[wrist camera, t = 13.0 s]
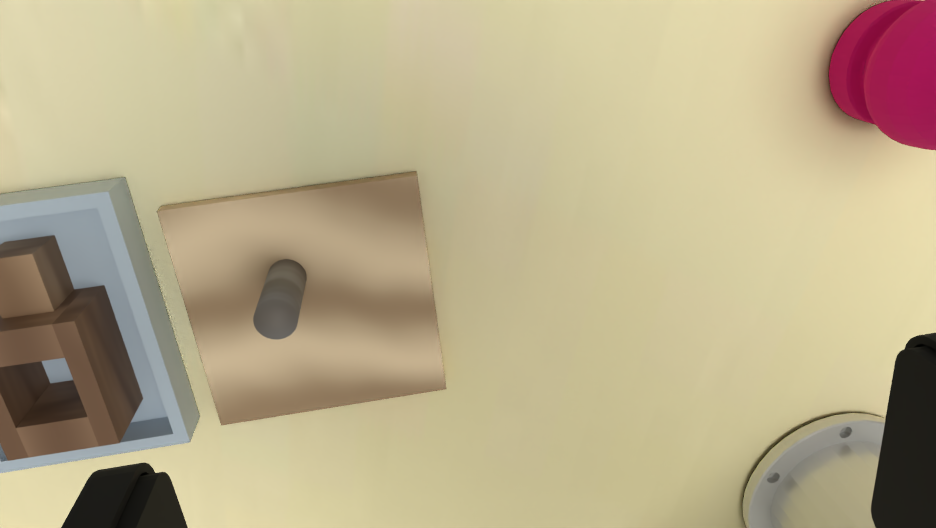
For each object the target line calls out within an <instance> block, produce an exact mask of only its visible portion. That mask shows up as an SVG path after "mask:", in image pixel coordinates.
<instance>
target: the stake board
mask: <svg viewBox="0 0 936 528" xmlns="http://www.w3.org/2000/svg"><path fill="white" fill-rule="evenodd" d="M157 213H158V216H159V220H160V223H161V226H162V230H163V233H164V236H165V240H166V243H167V246H168V250H169V253H170V256H171V260H172V263H173V266H174V270H175V273H176V276H177V280H178V283H179V286H180V290H181V293H182V296H183V300H184V303H185V306H186V310H187V313H188V316H189V320H190V323H191V326H192V330H193V333H194V336H195V340H196V343H197V346H198V349H199V353H200V356H201V359H202V363H203V366H204V369H205V373H206V376H207V379H208V383H209V386H210V389H211V393H212V396H213V399H214V403H215V406H216V409H217V413H218V416H219V419H220V423H221V425H226V424H232V423H238V422H245V421H251V420H257V419H263V418H269V417H276V416H282V415H288V414H294V413H300V412H307V411H313V410H319V409H325V408H331V407H338V406H344V405H350V404H356V403H362V402H369V401H375V400H381V399H387V398H393V397H400V396H406V395H412V394H418V393H424V392H431V391H437V390H443V389H446V383H445V376H444V368H443V361H442V354H441V347H440V339H439V332H438V325H437V318H436V310H435V303H434V296H433V288H432V281H431V274H430V267H429V259H428V252H427V245H426V238H425V230H424V223H423V216H422V209H421V201H420V194H419V187H418V179H417V174H416V171H415V172H408V173H401V174H393V175H386V176H379V177H371V178H364V179H357V180H349V181H342V182H335V183H327V184H320V185H313V186H305V187H298V188H291V189H283V190H276V191H269V192H261V193H254V194H246V195H239V196H232V197H224V198H217V199H210V200H202V201H195V202H188V203H180V204H173V205H166V206H161V207H160V208H159V209H158V210H157Z"/></svg>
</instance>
